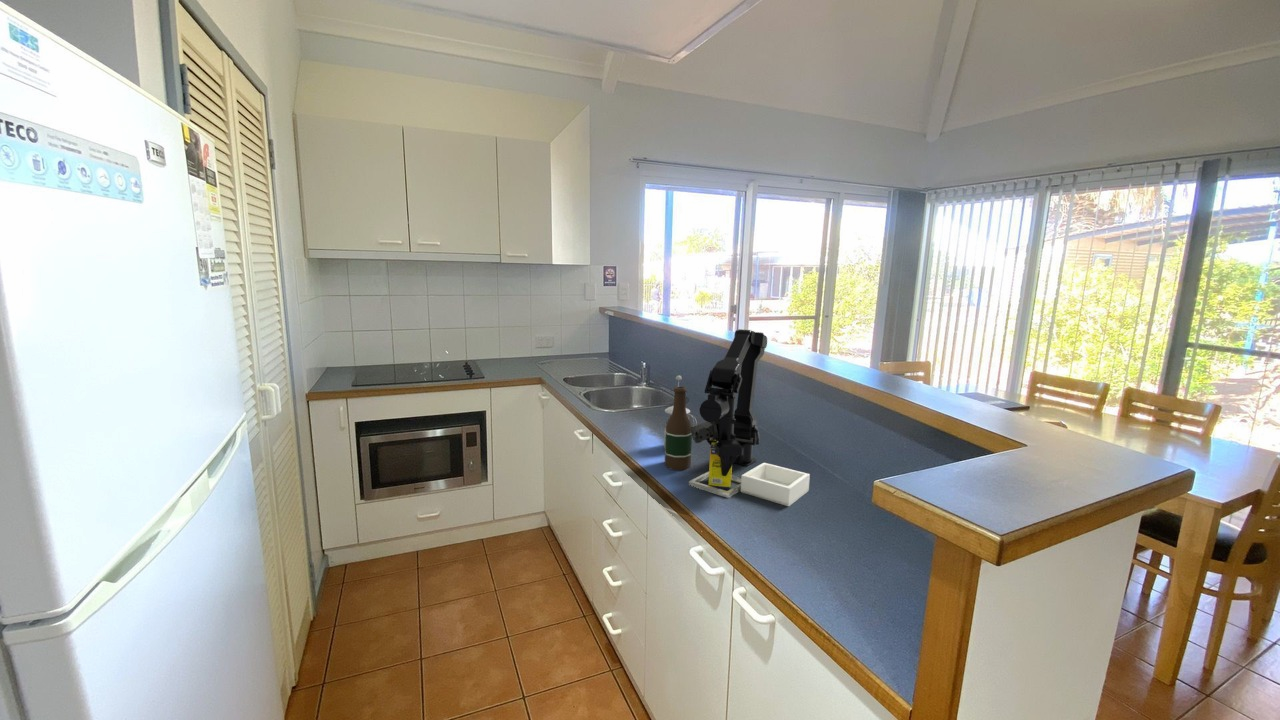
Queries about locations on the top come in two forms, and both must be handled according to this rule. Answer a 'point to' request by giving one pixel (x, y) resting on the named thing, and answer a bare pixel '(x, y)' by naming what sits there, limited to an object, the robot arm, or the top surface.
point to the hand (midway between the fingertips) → (720, 470)
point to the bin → (775, 483)
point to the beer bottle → (678, 434)
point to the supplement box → (717, 471)
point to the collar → (712, 489)
